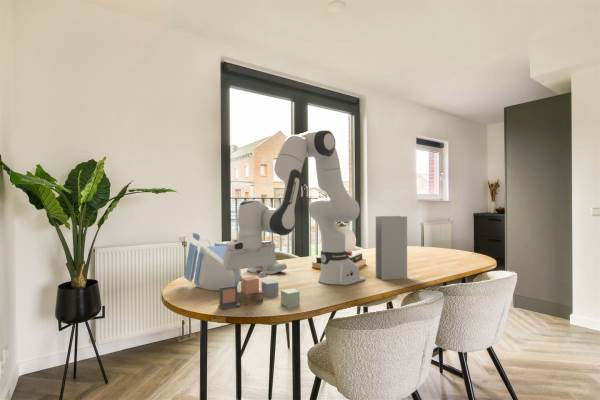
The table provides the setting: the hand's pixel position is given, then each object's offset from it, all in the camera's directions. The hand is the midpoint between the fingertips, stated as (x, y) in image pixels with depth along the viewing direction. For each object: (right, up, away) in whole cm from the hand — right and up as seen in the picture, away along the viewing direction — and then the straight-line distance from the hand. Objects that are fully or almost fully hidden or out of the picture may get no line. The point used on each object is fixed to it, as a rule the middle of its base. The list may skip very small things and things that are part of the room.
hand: (250, 279), depth 127 cm
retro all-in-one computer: (-18, -9, +22) cm, 29 cm away
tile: (-7, -8, -7) cm, 13 cm away
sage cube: (+15, -8, -4) cm, 18 cm away
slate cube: (+6, -8, +10) cm, 14 cm away
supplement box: (-18, -8, +42) cm, 46 cm away
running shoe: (+1, -9, +51) cm, 52 cm away
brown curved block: (0, -9, 0) cm, 9 cm away
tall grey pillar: (+63, -8, +38) cm, 74 cm away
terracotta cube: (0, -5, 0) cm, 5 cm away
